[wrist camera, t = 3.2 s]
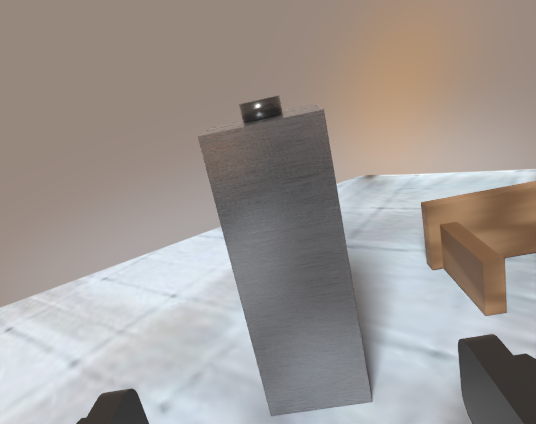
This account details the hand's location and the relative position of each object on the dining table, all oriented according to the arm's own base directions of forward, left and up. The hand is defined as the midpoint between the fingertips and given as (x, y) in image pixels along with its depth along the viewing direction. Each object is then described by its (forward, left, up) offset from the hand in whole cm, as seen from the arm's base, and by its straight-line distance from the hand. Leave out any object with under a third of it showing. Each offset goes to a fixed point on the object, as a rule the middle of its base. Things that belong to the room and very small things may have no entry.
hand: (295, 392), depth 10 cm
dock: (-15, -17, -8) cm, 24 cm away
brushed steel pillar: (0, -10, -8) cm, 13 cm away
